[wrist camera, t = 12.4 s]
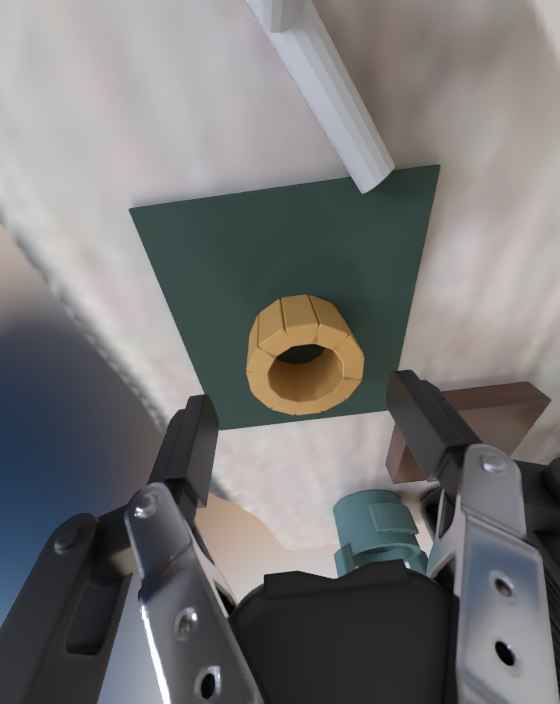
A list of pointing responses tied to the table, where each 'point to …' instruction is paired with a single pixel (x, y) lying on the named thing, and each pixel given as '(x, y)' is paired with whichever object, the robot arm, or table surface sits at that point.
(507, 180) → the table surface
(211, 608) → the robot arm
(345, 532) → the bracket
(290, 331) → the tape roll
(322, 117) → the pipe joint
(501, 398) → the tape holder
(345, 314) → the desk mat
